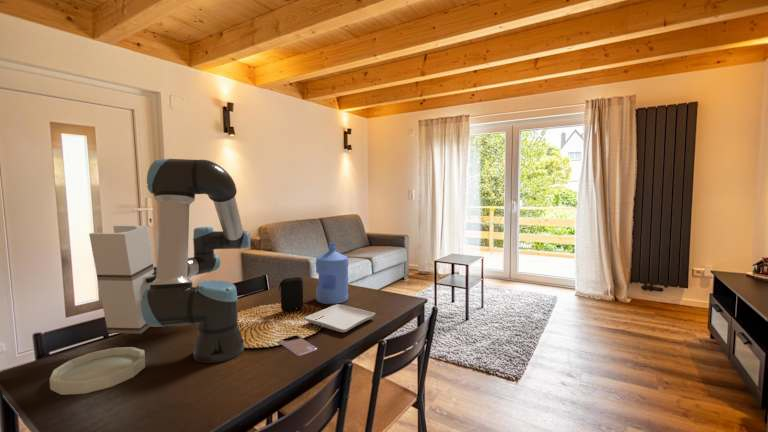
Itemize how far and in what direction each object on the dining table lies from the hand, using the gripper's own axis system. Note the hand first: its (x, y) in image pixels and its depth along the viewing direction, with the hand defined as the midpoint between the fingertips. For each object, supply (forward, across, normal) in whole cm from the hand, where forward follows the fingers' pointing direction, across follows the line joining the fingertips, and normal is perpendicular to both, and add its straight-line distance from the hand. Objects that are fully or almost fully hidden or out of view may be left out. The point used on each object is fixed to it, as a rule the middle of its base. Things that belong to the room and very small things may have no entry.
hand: (123, 280), depth 120 cm
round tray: (+14, -14, -23) cm, 30 cm away
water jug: (-73, -37, -22) cm, 84 cm away
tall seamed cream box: (-3, 0, -17) cm, 17 cm away
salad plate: (-50, -56, -23) cm, 78 cm away
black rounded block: (-52, -29, -22) cm, 63 cm away
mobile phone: (-25, -54, -23) cm, 64 cm away
